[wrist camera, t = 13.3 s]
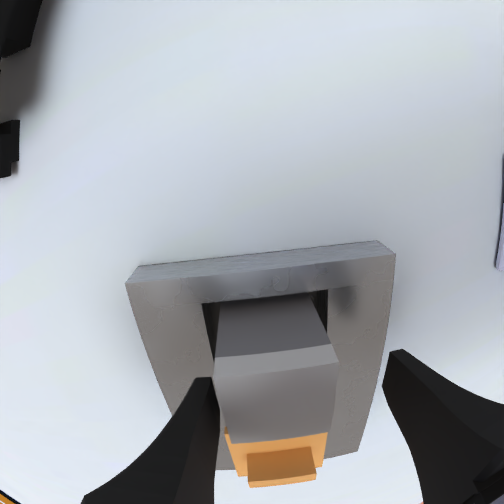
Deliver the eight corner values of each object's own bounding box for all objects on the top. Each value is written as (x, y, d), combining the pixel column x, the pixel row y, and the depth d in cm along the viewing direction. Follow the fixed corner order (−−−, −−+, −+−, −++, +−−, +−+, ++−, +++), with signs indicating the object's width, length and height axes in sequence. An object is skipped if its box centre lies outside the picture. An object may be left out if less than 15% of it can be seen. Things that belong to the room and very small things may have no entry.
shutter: (326, 414, 15) (337, 450, 12) (320, 460, 17) (327, 490, 14) (224, 426, 15) (223, 464, 12) (238, 470, 17) (238, 501, 14)
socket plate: (377, 240, 14) (395, 253, 12) (350, 432, 19) (357, 451, 17) (138, 266, 14) (124, 283, 12) (201, 450, 19) (199, 469, 17)
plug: (303, 283, 14) (339, 361, 9) (304, 347, 16) (330, 431, 10) (221, 292, 14) (213, 376, 9) (232, 355, 16) (231, 443, 10)
